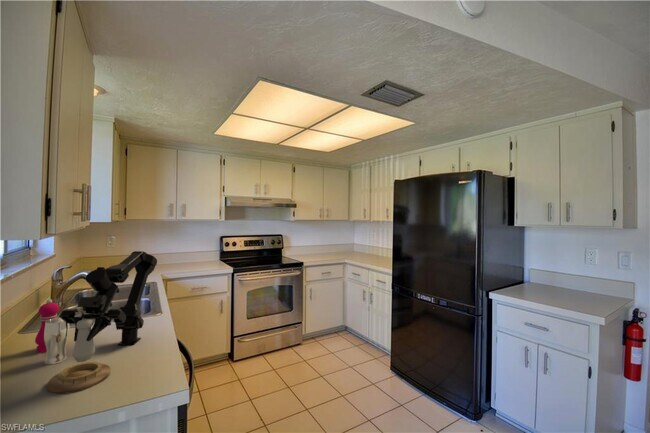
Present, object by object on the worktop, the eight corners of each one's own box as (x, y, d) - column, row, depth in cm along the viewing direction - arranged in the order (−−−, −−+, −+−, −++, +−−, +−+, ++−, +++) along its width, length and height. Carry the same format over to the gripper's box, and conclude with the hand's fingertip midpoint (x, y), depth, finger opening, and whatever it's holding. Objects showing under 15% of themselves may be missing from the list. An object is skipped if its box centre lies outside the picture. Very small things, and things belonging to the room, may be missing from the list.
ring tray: (71, 367, 103) (71, 359, 103) (119, 366, 106) (120, 357, 106) (32, 394, 88) (33, 384, 88) (91, 392, 90) (91, 382, 90)
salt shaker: (97, 353, 101) (98, 316, 101) (92, 361, 96) (93, 321, 95) (75, 356, 98) (76, 318, 98) (69, 364, 93) (70, 324, 93)
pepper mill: (64, 345, 120) (66, 297, 121) (48, 353, 113) (50, 302, 113) (46, 345, 120) (48, 296, 120) (29, 353, 113) (31, 301, 113)
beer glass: (48, 357, 110) (50, 317, 110) (71, 355, 113) (73, 316, 113) (38, 366, 104) (40, 324, 104) (62, 363, 106) (64, 322, 106)
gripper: (64, 286, 99) (35, 331, 89) (122, 286, 102) (101, 330, 91) (79, 302, 107) (54, 345, 96) (133, 302, 110) (115, 344, 99)
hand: (81, 341), depth 95 cm, fingers closed on salt shaker, 3 cm apart
